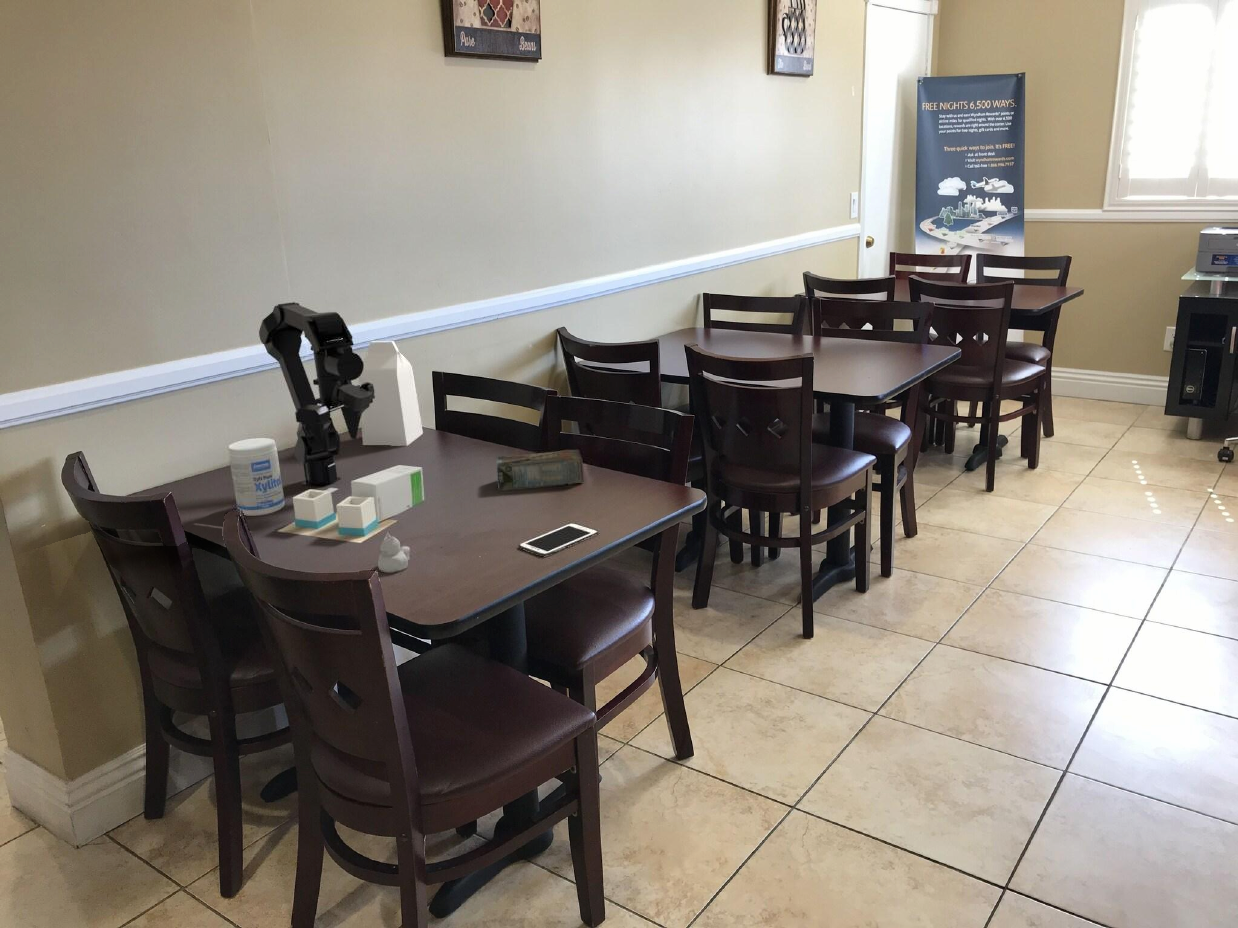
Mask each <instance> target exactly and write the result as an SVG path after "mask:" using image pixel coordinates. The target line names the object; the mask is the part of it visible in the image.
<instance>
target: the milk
mask: <svg viewBox="0 0 1238 928" xmlns="http://www.w3.org/2000/svg"><path fill="white" fill-rule="evenodd" d="M362 361H363V364H364V368H363V372H362V374H361V375H360V376H359V377H358V378H357V379H358V380H357V382H358V385H360V386H361V385H362V384H364V383H366V382H369V383H371V384H373V387H374V392H375V393H374V395H375V398H374V399H373V403H370V406H369V408H367V409H366V410H365V411H364V412H363V413H362V415H361V418H360V422H361V435H362V446H363V445H391V446H390V447H394V446H395V447H407V446H409V445H410V444H411V443H413V442H414V441H415V440H417V439H418V438H419V437H420V436H422V435H423V434H424V431H423V425H422V418H421V414H420V406H419V400H418V395H417V387H416V384H415V383H416V382H415V377H414V371H413V367H412V364H411V363H410V361H409V360H408V359H407V358H406V357H405V356H404V355H403V354H402V353H401V352H400V350H399V348H398V345H396V343H395V340H372V341H370V342H369V345H368V348H367V353H366V355H365V356H364V358H363V360H362Z"/></svg>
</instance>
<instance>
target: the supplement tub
mask: <svg viewBox="0 0 1238 928" xmlns="http://www.w3.org/2000/svg"><path fill="white" fill-rule="evenodd" d="M227 449H228V458H229V460H228V461H229V465H230V472H231V477H232V483H233V489H234V495H235V501H236V507H237V510H238V509H240V510H242V511H243V513H244V515H243V516H247V517H250V516H255V517H256V516H264V515H269V514H273V513H275V512H278V511H280V510H282V509H283V508H284V506H285V495H284V489H283V481H282V477H281V467H280V463H279V462H280V461H279V456H278V455H279V454H278V450H277V446H276V442H275V440H274V439H273V438H267V437H256V438H248V439H242V440H238V441H235V442H233V443H231V444H229V446H228V448H227Z"/></svg>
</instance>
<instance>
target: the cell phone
mask: <svg viewBox="0 0 1238 928" xmlns="http://www.w3.org/2000/svg"><path fill="white" fill-rule="evenodd" d="M598 532H599V533H600V531H599V530H598V529H595V528H591V527H588V526H586V525H583V524H579V523H576V522H570V523H567V524H564V525H562V526H559V527H557V528H555V529H552V530H549V531H547V532H544V533H543V534H540V535H537V536H535V537H532V538H530V539H527V540H525V541H522V542H521V543H519V544H518V549H519V548H521V549H525V550H527V551H530V552H533V553H534V554H538V555H541V556H546V555H550V554H553V553H554V552H556V551H559V550H560V549H563V548H566V547H568V546H570V545H573V544H575V543H577V542H580V541H581V540H584V539H585V538H588V537H591V536H592V535H595V534H598ZM598 535H599V534H598ZM521 549H520V550H521ZM559 552H560V551H559ZM534 554H533V555H534ZM553 555H554V554H553Z"/></svg>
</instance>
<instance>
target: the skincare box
mask: <svg viewBox="0 0 1238 928" xmlns="http://www.w3.org/2000/svg"><path fill="white" fill-rule="evenodd" d="M350 485H351V486H350V488H351V496H357V497H374V505H375V512H376V518H378V522H380V521H383V520H385V519H391V518H393V517H395V516H397V515H399V514H401V513H403V512H405V511H407V510H408V509H410V508H412V507H414V506H416V505H418V504H419V503H422V502H423V501H425V491H424V477H423V467H421V466H412V465H411V466H410V465H401V464H397V465H395V466H391V467H388V468H386V469H383V470H380V471H377V472H375V473H372V474H368V475H366V476H362V477H359V478H357V479H355V480H351V481H350Z"/></svg>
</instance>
